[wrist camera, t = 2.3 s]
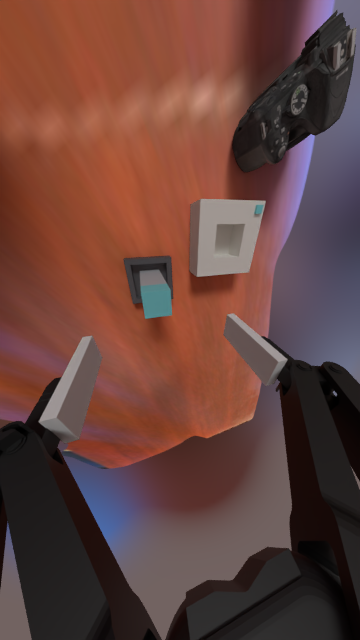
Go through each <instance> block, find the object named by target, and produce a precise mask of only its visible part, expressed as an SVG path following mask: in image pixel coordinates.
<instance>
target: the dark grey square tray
mask: <svg viewBox="0 0 360 640" xmlns="http://www.w3.org/2000/svg"><path fill="white" fill-rule="evenodd" d="M124 264H125V269H126V273H127V278H128V282H129V287H130V292H131V296H132V301H133V304H135V303H143V302H142V297H141V286H140V271H142V270H156V269H159V271H160V272H161V274H162V276H163V278H164V279H165V281H166V283H167V285H168V286H169V288H170V290H171V299H173V286H172V265H171V257H170V256H154V257H136V258H124Z"/></svg>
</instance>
